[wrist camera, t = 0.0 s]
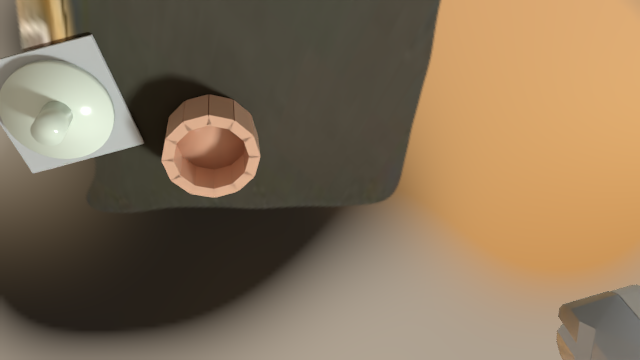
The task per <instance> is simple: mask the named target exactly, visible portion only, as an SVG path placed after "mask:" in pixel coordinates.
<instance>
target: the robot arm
mask: <svg viewBox="0 0 640 360" xmlns="http://www.w3.org/2000/svg"><path fill="white" fill-rule="evenodd" d="M558 317H559V318H560V320H561V321H562V323H563V324H562V325H561V327H560V328H559V329H558V330H557V345H558V348H559V352H560V355H561V357H562V359H563V360H640V286H639V285H630V286H627V287H623V288H620V289H617V290H613V291H610V292H609V291H607V292H603V293H600V294H597V295H593V296H590V297H587V298H583V299H580V300H576V301H573V302H570V303H566V304H563V305H562V306H561V307H560V308H559V315H558Z"/></svg>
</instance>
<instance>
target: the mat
mask: <svg viewBox="0 0 640 360" xmlns="http://www.w3.org/2000/svg"><path fill="white" fill-rule="evenodd" d="M39 60H58V61H64V62H68V63H71V64H74V65H76V66H79V67H81V68H83V69H84V70H86V71H88V72H89V73H91V74H92V75H93V76H95V77H96V78H97V79H98V80H99V81H100V82H101V83H102V84H103V85H104V87H105V88H106V89H107V91H108V93H109V94H110V96H111V99H112V101H113V104H114V109H115V121H114V125H113V128H112V131H111V134H110V136H109V138H108V140H107V141H106V142H105V143H104V145H103V146H102V147H100V148H99V149H98V150H96V151H95V152H93V153H91V154H89V155H86V156H83V157H79V158H73V159H59V158H52V157H48V156H44V155H41V154H39V153H36V152H34V151H32V150H30V149H29V148H27V147H25V146H24V145H22V144H21V143H20V142H19V141H17V140H16V139H15V138H14V137H13V136H12V135H11V134H10V132H9V131H8V130H7V128H6V127H5V125H4V123H3V121H2V119H1V116H0V125H1V126H2V128H3V129H4V131H5V132H6V134H7V135H8V137H9V138H10V140H11V141H12V143H13V144H14V146H15V147H16V149H17V150H18V152H19V153H20V155H21V156H22V158H23V159H24V161H25V162H26V164H27V165H28V167H29V168H30V170H31V171H32V173H36V172H40V171H44V170H48V169H52V168H55V167H59V166H63V165H66V164H70V163H74V162H78V161H81V160H85V159H89V158H93V157H96V156H100V155H104V154H107V153H111V152H115V151H119V150H122V149H126V148H130V147H133V146H137V145H141V144H144V140H143V138H142V136H141V134H140V132H139V130H138V128H137V126H136V124H135V122H134V120H133V118H132V116H131V113H130V111H129V109H128V107H127V105H126V103H125V101H124V99H123V97H122V95H121V93H120V91H119V89H118V87H117V85H116V83H115V80H114V78H113V76H112V74H111V72H110V70H109V68H108V66H107V64H106V62H105V60H104V58H103V56H102V54H101V52H100V50H99V48H98V45H97V43H96V41H95V39H94V37H93V35H92V34H90V35H87V36H83V37H79V38H75V39H72V40H68V41H64V42H60V43H57V44H53V45H49V46H45V47H42V48H38V49H34V50H30V51H26V52H23V53H19V54H15V55H12V56H8V57H4V58H0V90H1V88H2V86H3V84H4V83H5V81H6V80H7V79H8V77H9V76H10V75H11V74H12V73H13V72H14V71H15V70H17V69H18V68H19V67H21V66H23V65H25V64H27V63H30V62H33V61H39Z"/></svg>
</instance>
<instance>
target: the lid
mask: <svg viewBox="0 0 640 360" xmlns="http://www.w3.org/2000/svg"><path fill="white" fill-rule="evenodd" d="M0 116H1V119H2V121H3V123H4V125H5V127H6V128H7V130H8V131H9V132H10V134H11V135H12V136H13V137H14V138H15V139H16V140H17V141H19V142H20V143H21V144H22V145H24V146H25V147H27V148H29V149H30V150H32V151H34V152H36V153H39V154H41V155H44V156H48V157H52V158H59V159H73V158H79V157H83V156H86V155H89V154H91V153H93V152H95V151H96V150H98V149H99V148H100V147H102V146H103V145H104V143H105V142H106V141H107V140H108V138H109V136H110V134H111V131H112V128H113V125H114V121H115V109H114V104H113V101H112V99H111V96H110V94H109V93H108V91H107V89H106V88H105V87H104V85H103V84H102V83H101V82H100V81H99V80H98V79H97V78H96V77H95V76H93V75H92V74H91V73H89V72H88V71H86V70H84V69H83V68H81V67H79V66H76V65H74V64H71V63H68V62H64V61H58V60H39V61H33V62H30V63H27V64H25V65H23V66H21V67H19V68H18V69H17V70H15V71H14V72H13V73H12V74H11V75H10V76H9V77H8V79H7V80H6V81H5V83H4V84H3V86H2V88H1V90H0Z"/></svg>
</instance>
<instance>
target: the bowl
mask: <svg viewBox="0 0 640 360" xmlns="http://www.w3.org/2000/svg"><path fill="white" fill-rule="evenodd" d="M259 160H260V149H259V142H258V134H257V131H256V128H255V125H254V122H253V119H252V116H251V114H250V113H249V112H248V111H247V110H245V109H244V108H243V107H242V106H241V105H239V104H238V103H237V102H236V101H235V100H233V99H229V98H225V97H220V96H215V95H211V94H209V95H208V94H207V95H204V96H200V97H196V98H192V99H189V100H186V101H184V102H183V103H182V104H181V105H180V106H179V107H178V108H177V109H176V110H175V111H174V112H173V113H172V114H171V115H170V116H169V119H168V124H167V130H166V135H165V141H164V147H163V153H162V163H163V165H164V167H165V169H166V171H167V173H168V176H169V178H170V180H171V181H172V182H174V183H175V184H177V185H178V186H180V187H181V188H182V189H184V190H185V191H187V192H188V193H191V194H194V195H200V196H207V197H213V198H214V196H215V198H216V197H219V196H223V195H227V194H230V193H234V192H237V191H239V190H240V189H241V188H242V187H243V186H245V185H246V184H247V183H248V182H249V181H250V180H251V179H252V178H254V176H255V173H256V170H257V167H258V163H259Z"/></svg>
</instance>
